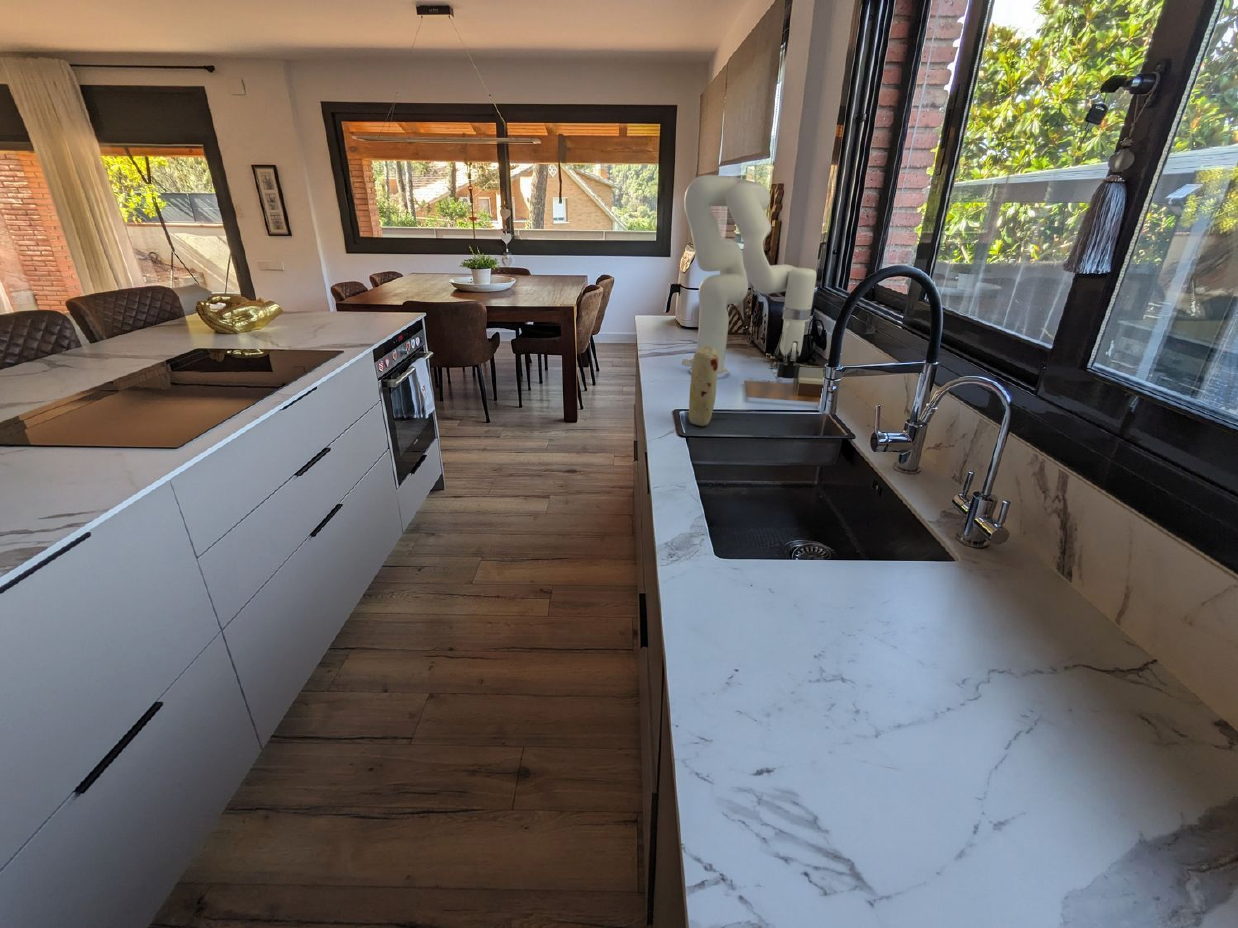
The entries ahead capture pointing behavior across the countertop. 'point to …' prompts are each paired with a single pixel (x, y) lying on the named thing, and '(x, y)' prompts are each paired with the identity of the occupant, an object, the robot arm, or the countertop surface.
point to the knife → (802, 372)
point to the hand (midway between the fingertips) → (787, 376)
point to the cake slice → (809, 387)
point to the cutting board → (775, 391)
